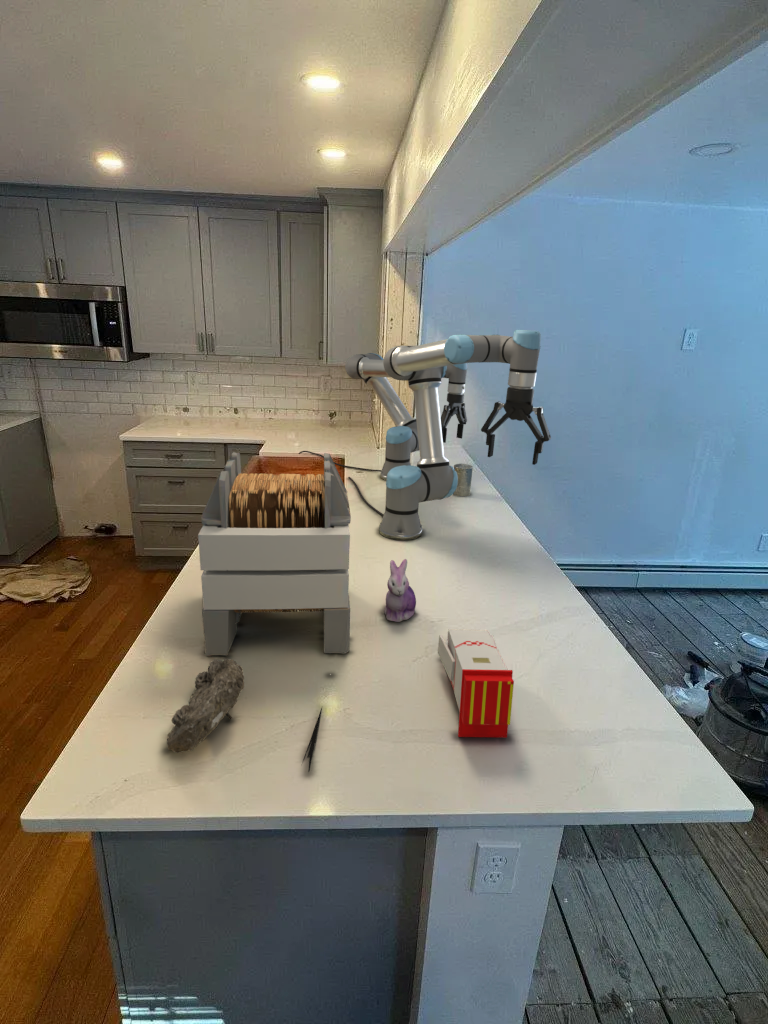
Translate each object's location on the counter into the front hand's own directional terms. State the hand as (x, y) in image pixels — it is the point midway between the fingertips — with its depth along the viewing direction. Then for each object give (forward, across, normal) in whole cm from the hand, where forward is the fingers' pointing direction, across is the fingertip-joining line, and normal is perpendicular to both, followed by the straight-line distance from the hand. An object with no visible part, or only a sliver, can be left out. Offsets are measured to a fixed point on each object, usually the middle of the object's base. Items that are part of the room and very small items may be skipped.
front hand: (512, 460), depth 168 cm
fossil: (+34, +23, +99) cm, 107 cm away
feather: (+34, +6, +89) cm, 95 cm away
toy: (+34, -16, +65) cm, 75 cm away
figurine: (+34, +12, +45) cm, 58 cm away
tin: (+34, +38, -61) cm, 80 cm away
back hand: (+15, +51, -76) cm, 93 cm away
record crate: (+34, +35, +64) cm, 80 cm away
